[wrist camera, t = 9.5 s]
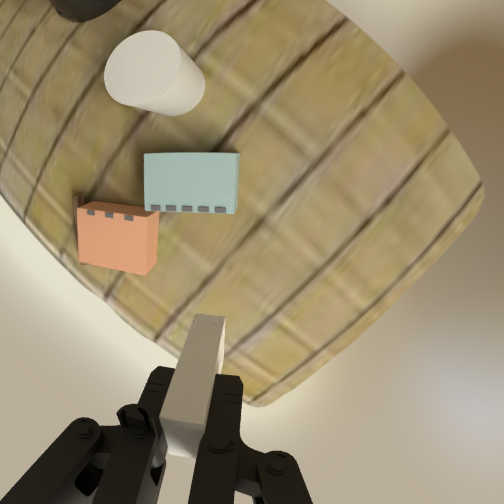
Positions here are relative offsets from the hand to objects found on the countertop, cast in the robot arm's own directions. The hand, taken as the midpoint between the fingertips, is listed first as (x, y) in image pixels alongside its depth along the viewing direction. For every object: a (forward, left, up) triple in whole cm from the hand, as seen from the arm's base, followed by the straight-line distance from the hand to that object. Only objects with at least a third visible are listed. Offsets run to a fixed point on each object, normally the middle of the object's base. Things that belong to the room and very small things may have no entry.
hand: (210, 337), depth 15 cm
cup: (-18, -10, -26) cm, 33 cm away
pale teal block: (-5, -6, -26) cm, 27 cm away
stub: (+3, -18, -26) cm, 32 cm away
